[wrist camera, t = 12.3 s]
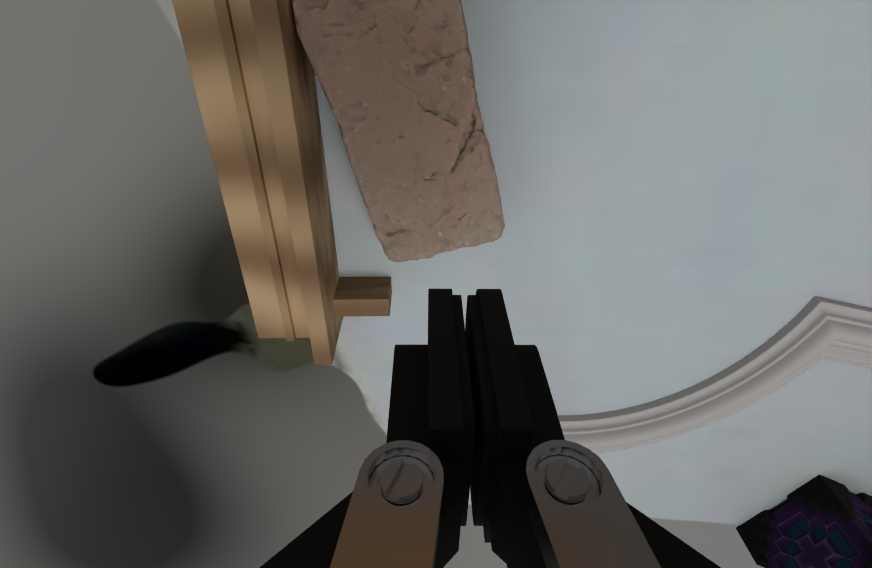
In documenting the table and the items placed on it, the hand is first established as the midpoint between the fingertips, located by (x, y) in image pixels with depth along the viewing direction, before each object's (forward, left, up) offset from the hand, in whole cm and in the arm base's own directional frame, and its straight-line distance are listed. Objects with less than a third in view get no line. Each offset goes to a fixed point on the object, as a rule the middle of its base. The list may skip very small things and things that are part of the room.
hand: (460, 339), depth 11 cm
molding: (+28, +25, -23) cm, 44 cm away
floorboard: (+2, -8, -22) cm, 24 cm away
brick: (0, -1, -23) cm, 23 cm away
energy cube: (+47, +46, -23) cm, 69 cm away
